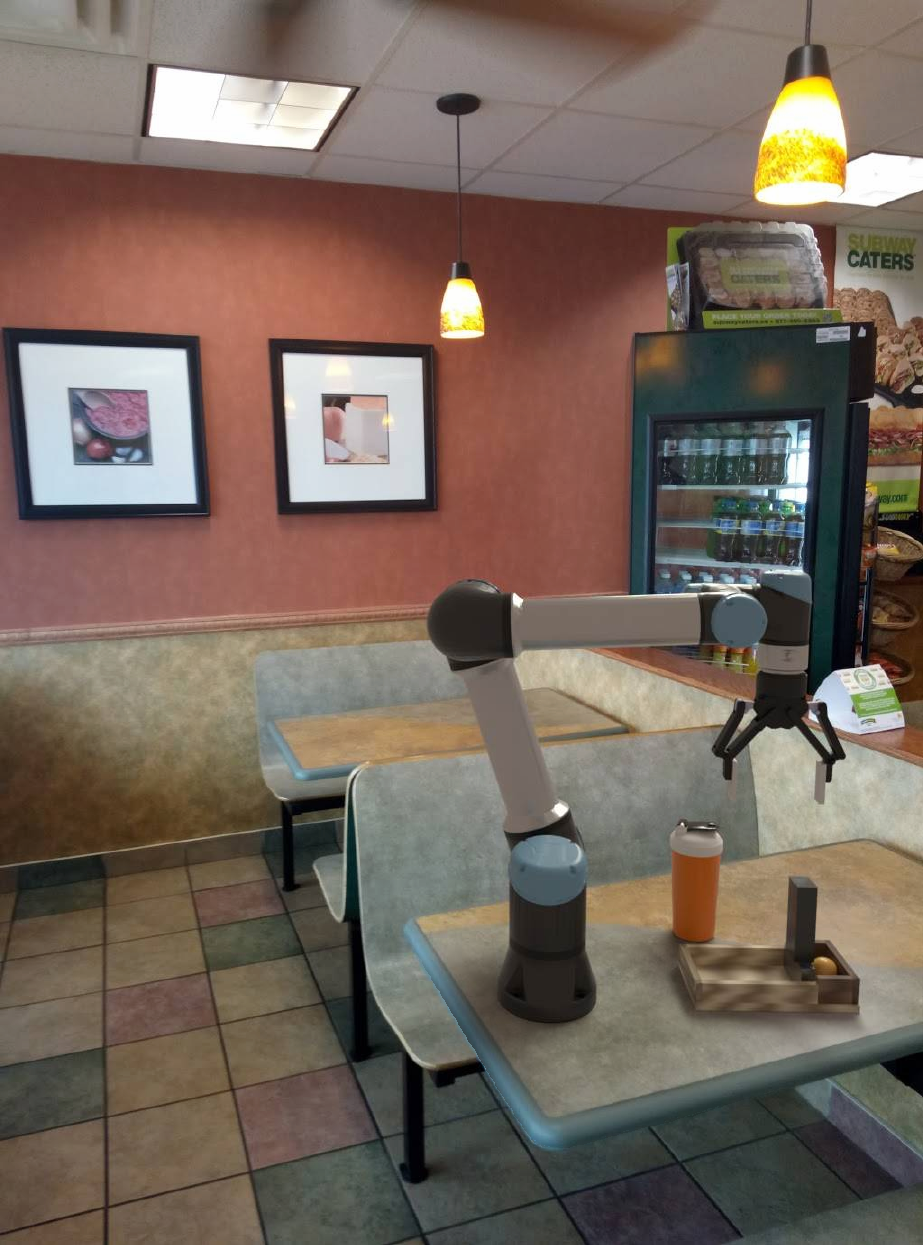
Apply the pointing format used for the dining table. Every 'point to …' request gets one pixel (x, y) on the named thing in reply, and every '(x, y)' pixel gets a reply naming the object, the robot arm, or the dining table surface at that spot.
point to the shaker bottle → (695, 878)
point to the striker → (800, 929)
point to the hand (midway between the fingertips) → (775, 800)
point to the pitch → (764, 980)
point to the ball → (824, 966)
